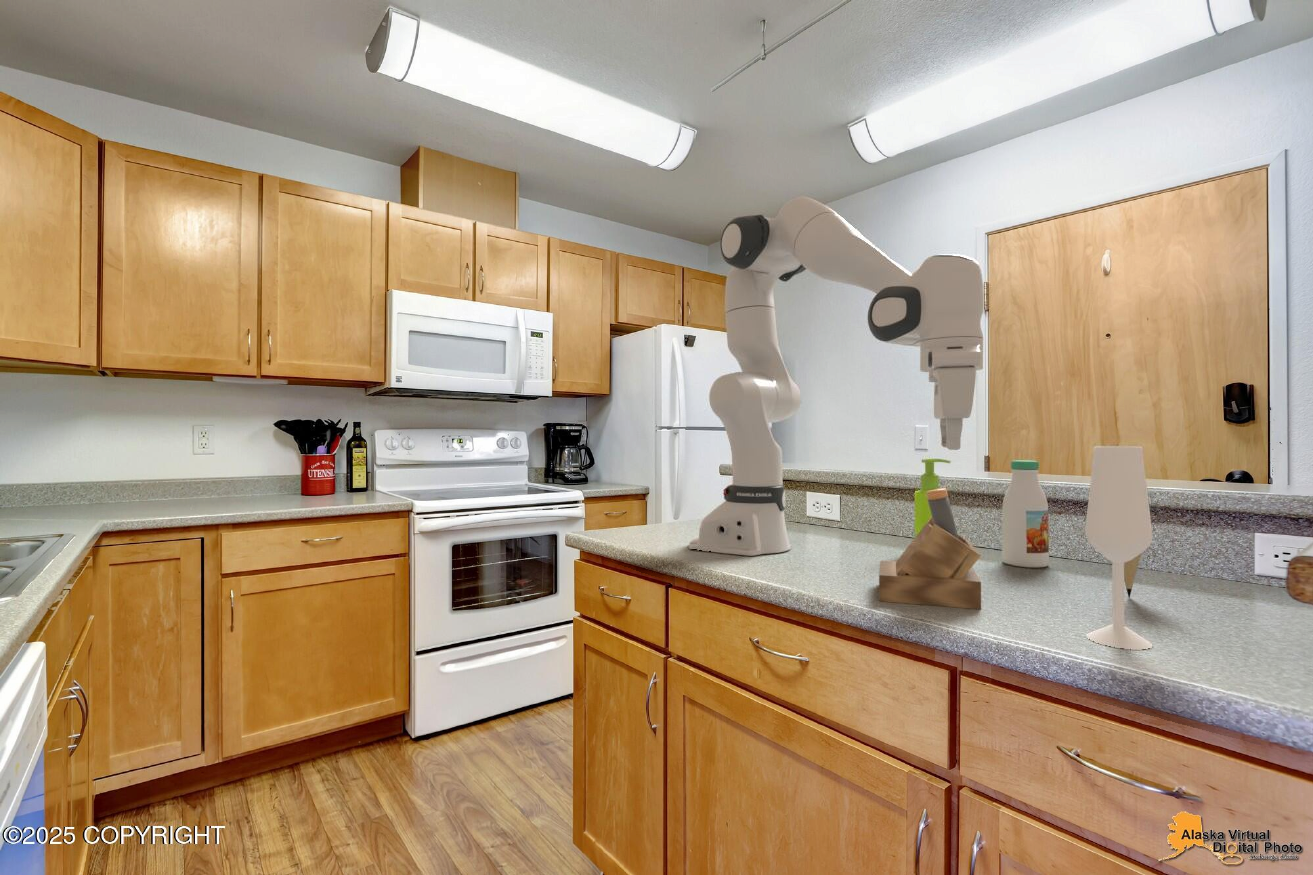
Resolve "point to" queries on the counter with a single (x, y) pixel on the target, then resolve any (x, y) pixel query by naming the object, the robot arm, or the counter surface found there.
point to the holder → (933, 572)
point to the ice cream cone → (1130, 572)
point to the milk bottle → (1025, 518)
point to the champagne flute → (1118, 529)
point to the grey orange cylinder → (941, 510)
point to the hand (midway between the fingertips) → (950, 448)
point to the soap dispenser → (927, 483)
